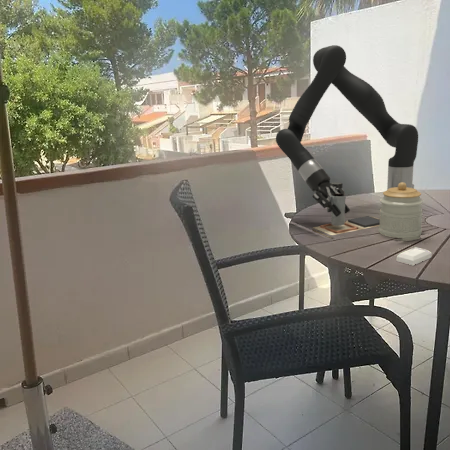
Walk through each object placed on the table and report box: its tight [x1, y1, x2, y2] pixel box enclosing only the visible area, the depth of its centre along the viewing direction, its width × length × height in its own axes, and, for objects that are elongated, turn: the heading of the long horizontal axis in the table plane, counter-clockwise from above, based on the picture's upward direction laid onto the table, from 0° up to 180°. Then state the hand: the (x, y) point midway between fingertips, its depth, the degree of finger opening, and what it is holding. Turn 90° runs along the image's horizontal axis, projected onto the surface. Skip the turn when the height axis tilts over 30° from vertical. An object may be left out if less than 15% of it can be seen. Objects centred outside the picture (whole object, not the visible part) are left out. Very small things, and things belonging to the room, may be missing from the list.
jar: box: [378, 182, 424, 242], centre depth 139 cm, size 13×13×18 cm
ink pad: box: [347, 215, 380, 228], centre depth 154 cm, size 9×9×1 cm
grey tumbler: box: [330, 193, 347, 226], centre depth 148 cm, size 4×4×10 cm
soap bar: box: [396, 246, 433, 267], centre depth 121 cm, size 5×9×3 cm, turn 126°
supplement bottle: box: [326, 181, 346, 213], centre depth 173 cm, size 7×7×12 cm
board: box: [311, 216, 380, 240], centre depth 152 cm, size 26×11×2 cm, turn 113°
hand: (343, 213), depth 147 cm, fingers closed on grey tumbler, 4 cm apart
